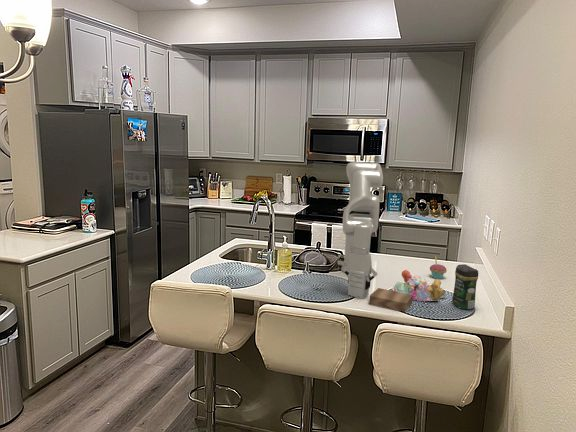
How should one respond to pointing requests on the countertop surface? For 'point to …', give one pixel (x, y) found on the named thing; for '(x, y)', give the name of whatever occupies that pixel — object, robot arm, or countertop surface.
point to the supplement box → (357, 284)
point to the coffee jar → (465, 287)
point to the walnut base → (390, 299)
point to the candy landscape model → (419, 288)
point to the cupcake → (437, 270)
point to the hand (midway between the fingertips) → (358, 286)
